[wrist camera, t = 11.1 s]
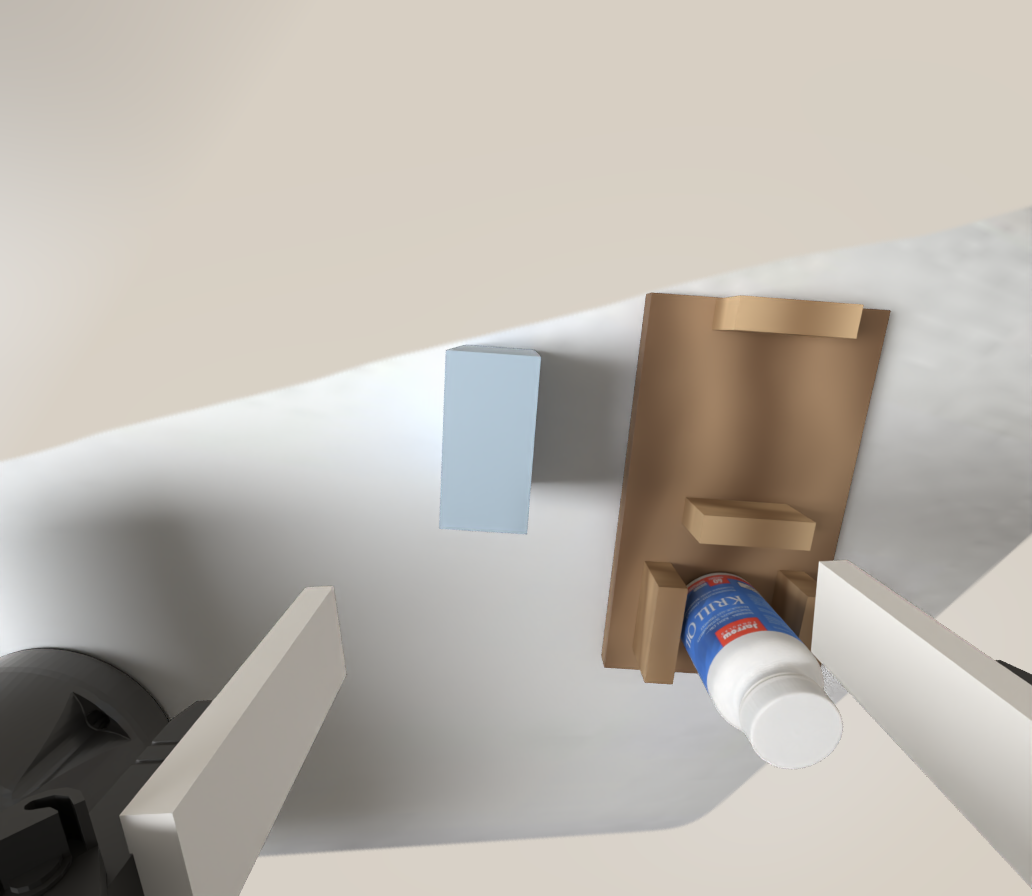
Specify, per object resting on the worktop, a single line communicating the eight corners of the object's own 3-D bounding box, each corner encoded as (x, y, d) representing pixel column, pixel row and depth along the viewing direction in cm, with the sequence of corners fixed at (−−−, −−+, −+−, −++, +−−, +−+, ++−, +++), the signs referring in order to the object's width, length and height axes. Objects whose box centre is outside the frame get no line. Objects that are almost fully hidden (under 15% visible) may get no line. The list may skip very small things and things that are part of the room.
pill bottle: (712, 552, 30) (801, 652, 21) (776, 603, 31) (890, 721, 22) (651, 616, 31) (710, 740, 22) (715, 664, 32) (798, 803, 23)
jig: (601, 655, 33) (613, 703, 29) (646, 294, 28) (669, 287, 24) (795, 668, 34) (836, 717, 29) (875, 311, 28) (939, 307, 24)
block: (458, 478, 31) (439, 528, 23) (464, 344, 29) (446, 349, 21) (524, 482, 31) (526, 534, 23) (534, 349, 29) (540, 356, 21)
